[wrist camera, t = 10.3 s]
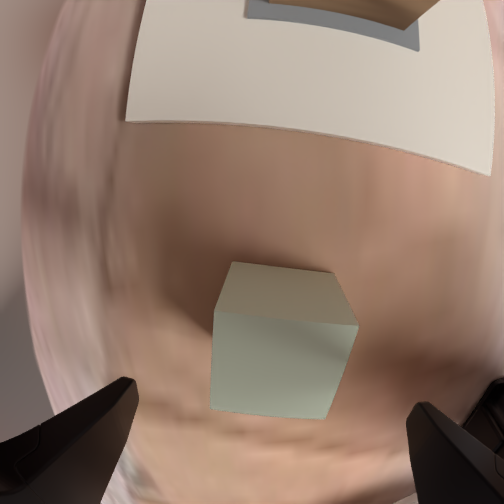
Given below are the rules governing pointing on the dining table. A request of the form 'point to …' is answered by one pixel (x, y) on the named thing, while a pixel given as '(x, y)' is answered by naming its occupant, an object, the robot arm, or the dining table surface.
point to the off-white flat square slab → (322, 74)
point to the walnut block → (371, 9)
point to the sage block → (279, 341)
